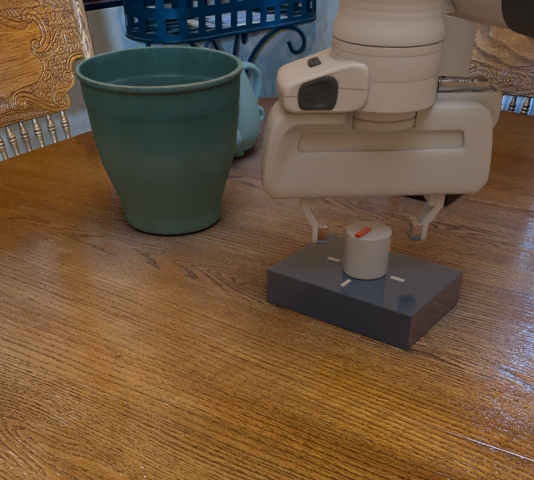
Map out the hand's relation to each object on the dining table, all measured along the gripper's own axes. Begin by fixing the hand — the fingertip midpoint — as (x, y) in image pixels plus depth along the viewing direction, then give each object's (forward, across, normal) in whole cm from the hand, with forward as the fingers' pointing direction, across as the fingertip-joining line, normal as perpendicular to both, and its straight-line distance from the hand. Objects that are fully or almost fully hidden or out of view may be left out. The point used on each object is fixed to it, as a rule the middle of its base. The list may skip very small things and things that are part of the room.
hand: (367, 240), depth 67 cm
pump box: (+7, -14, -32) cm, 35 cm away
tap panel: (+7, 0, 0) cm, 7 cm away
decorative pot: (+7, +15, -49) cm, 51 cm away
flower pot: (+7, +19, -24) cm, 31 cm away
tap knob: (+3, 0, 0) cm, 3 cm away
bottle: (+7, -22, -52) cm, 57 cm away
